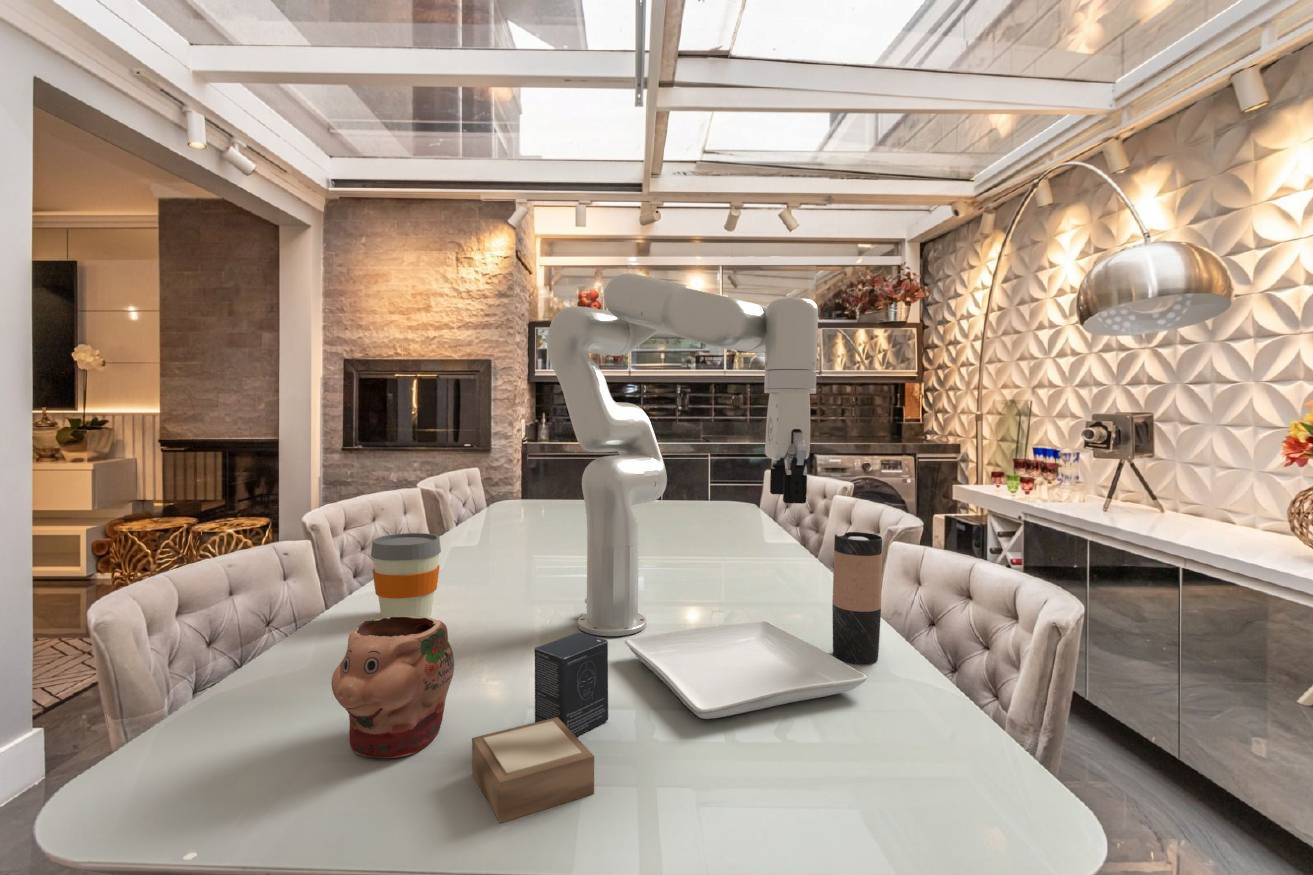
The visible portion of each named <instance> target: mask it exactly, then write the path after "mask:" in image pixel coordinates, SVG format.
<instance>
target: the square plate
mask: <svg viewBox="0 0 1313 875" xmlns="http://www.w3.org/2000/svg"><path fill="white" fill-rule="evenodd" d="M624 644H625V645H626V646H627V647H628V649H629V650H631V652H632V653H633V654H634V656H636V657H637V659H638V660H639V661H641V662H642V663H643V664H644V665H645V666H646V667H647V668H648V669H650V670H651V671H652V672H653V673H654V675H656V676H657V677H658V678H659V679H660V680H661V681H662V682H663V683H664V684H665V685H666V686H667V687H668V688H669V689H670V690H671V691H672V693H674V695H675V696H676V697H677V698H678V699H679V700H680V701H681V702H682V703H683V704H684V705H685V707H687V709H689V710H690V711H691V712H692V713H693V714H694V715H696V716H697V717H698V718H699V719H702V720H711V719H719V718H725V717H730V716H734V715H738V714H743V713H748V712H754V711H759V710H763V709H766V708H771V707H775V706H780V705H786V704H790V703H797V702H800V701H806V700H812V699H813V700H814V699H819V698H824V697H829V696H833V695H839V694H842V693H846V692H849V691H852V690H854V689H856V688H857V687H859V686H860V685H862V684H864V682H867V679H868V676H867V675H866V674H864V673H863V672H862V671H859V670H857V669H856V668H853V667H852V666H850V665H848V663H846V662H843V661H840V660H838V659H837V658H835V657H834V655H831V654H830V653H828V652H826V651H824V650H822V649H821V648H819V647H817V646H815V645H813V644H811V643H810V642H808V641H806V640H804V639H802V638H800V637H799V636H797V635H795V634H793V633H791V632H789V631H787V630H785V629H783V628H781V627H779V626H777V625H775V624H774V623H771V622H769V621H766V620H756V621H746V622H745V621H744V622H736V623H735V622H734V623H726V624H716V625H708V626H701V627H693V628H686V629H679V630H675V631H667V632H662V633H657V634H655V633H654V634H650V635H649V634H648V635H645V636H643V635H642V636H637V637H633V638H632V637H631V638H627V639H626V638H625V639H624Z"/></svg>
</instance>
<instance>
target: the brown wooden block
mask: <svg viewBox="0 0 1313 875" xmlns="http://www.w3.org/2000/svg"><path fill="white" fill-rule="evenodd" d="M471 775H472V776H473V779H474V780H475V782H476V783H477V785H478V787H479V789H480V790H481V793H482V794H483V796H484V798H485V799H486V801H487V803H488V805H489V807H490V808H491V810H492V811H493V814H494V815H495V817H496V819H497V820H498V822H499V823H500V824H501V823H502V824H503V823H505V822H508V821H512V820H514V819H519V818H521V817H524V816H528V815H532V814H533V813H537V812H540V811H543V810H547V809H549V808H553V807H557V806H559V805H562V804H565V803H569V802H572V801H574V800H579V799H580V798H581V799H582V798H585V797H588V796H592V795H593V794H595V755H594V754H593V753H592V752H591V751H590V750H589V749H588V748H587V747H586V745H585V744H584V743H583V742H582V741H581V740H580V739H579V738H578V736H575V735H574V734H573V733H572V732H571V731H570V730H569V729H568V728H567V727H566V726H565V724H564V723H563V722H562V721H561V720H560V719H559V718H558V717H556V718H552V719H548V720H544V721H540V722H536V723H535V722H532V723H527V724H525V725H524V724H523V725H520V726H515V727H512V728H511V727H510V728H508V729H502V730H500V731H496V732H491V733H487V734H483V735H479V736H474V737H471Z"/></svg>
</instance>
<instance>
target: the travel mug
mask: <svg viewBox="0 0 1313 875" xmlns="http://www.w3.org/2000/svg"><path fill="white" fill-rule="evenodd" d="M833 543H834V548H833V576H832V577H833V579H832V654H833V655H832V656H833V657H835V658H837V659H838V660H840V661H842V662H843V663H845V664H851V665H856V666H857V665H859V666H861V665H862V666H863V665H864V666H865V665H868V666H869V665H872V664H875V663H877V662H878V661H879V660H878V659H879V651H880V650H879V649H880V635H881V617H882V616H881V615H882V589H883V588H882V586H883V585H882V584H883V582H882V578H883V577H882V575H883V572H882V571H883V537H882V536H880V535H878V534H875V533H874V534H873V533H868V532H861V531H860V532H859V531H858V532H857V531H848V532H847V531H846V533H844V535H839V536H838V535H837V533H835V534H834V542H833Z"/></svg>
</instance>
